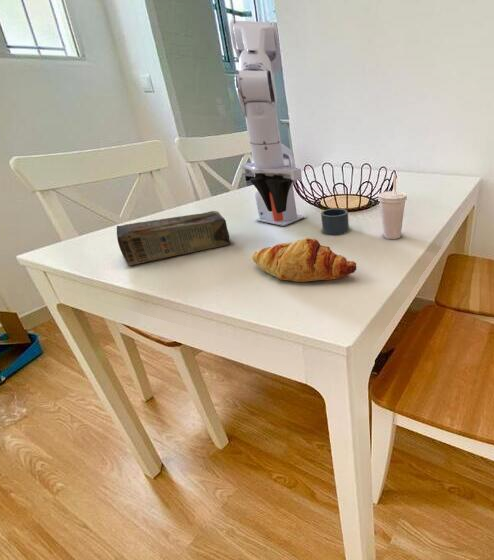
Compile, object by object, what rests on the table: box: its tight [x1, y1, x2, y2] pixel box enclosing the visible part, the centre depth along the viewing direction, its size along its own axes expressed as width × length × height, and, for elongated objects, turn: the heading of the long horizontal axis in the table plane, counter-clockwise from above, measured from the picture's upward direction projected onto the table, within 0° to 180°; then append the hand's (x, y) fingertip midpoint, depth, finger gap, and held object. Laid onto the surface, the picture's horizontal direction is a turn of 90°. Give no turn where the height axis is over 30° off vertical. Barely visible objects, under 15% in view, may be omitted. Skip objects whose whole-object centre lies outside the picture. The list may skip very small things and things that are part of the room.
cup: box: [320, 208, 350, 236], centre depth 82 cm, size 6×6×4 cm
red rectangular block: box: [269, 192, 283, 221], centre depth 72 cm, size 2×2×6 cm
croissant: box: [252, 237, 357, 283], centre depth 62 cm, size 21×10×8 cm, turn 74°
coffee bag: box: [116, 210, 232, 266], centre depth 71 cm, size 8×19×7 cm, turn 127°
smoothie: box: [377, 173, 408, 240], centre depth 76 cm, size 6×6×14 cm
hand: (277, 210), depth 73 cm, fingers closed on red rectangular block, 2 cm apart
